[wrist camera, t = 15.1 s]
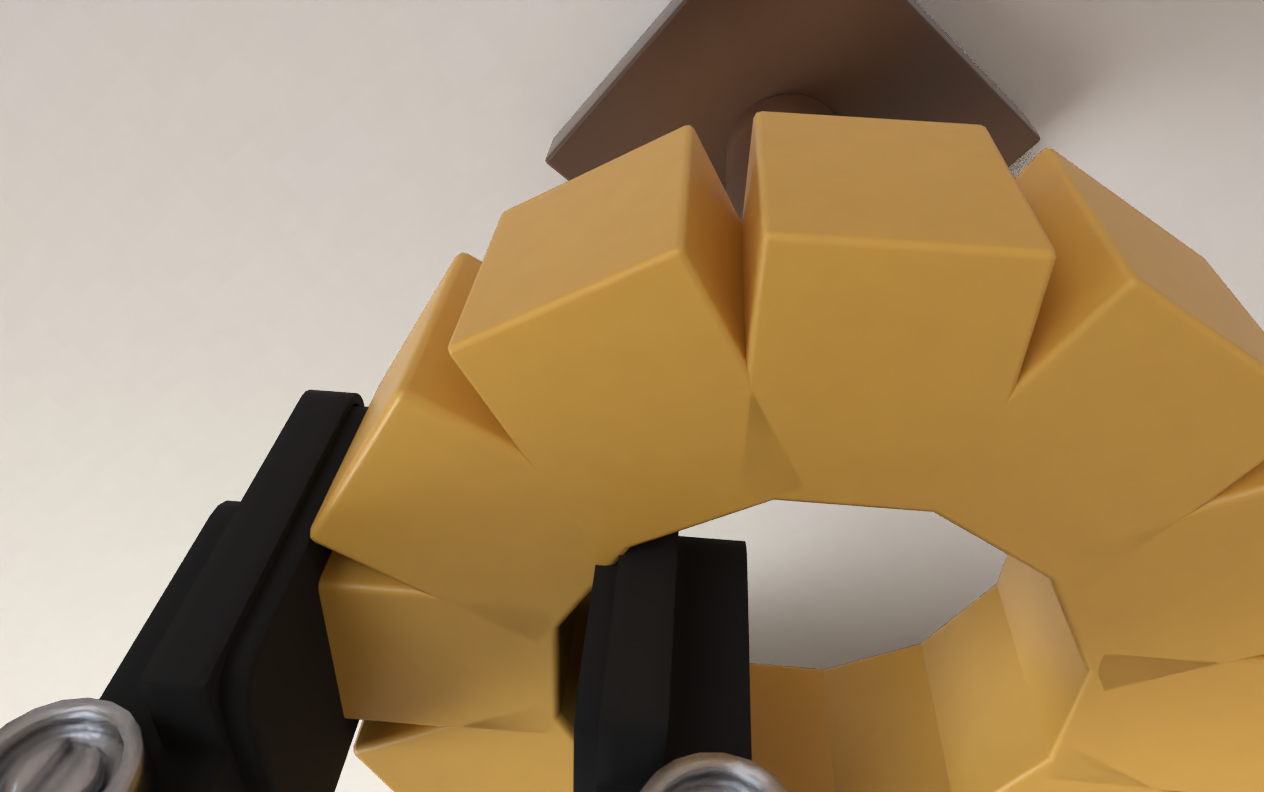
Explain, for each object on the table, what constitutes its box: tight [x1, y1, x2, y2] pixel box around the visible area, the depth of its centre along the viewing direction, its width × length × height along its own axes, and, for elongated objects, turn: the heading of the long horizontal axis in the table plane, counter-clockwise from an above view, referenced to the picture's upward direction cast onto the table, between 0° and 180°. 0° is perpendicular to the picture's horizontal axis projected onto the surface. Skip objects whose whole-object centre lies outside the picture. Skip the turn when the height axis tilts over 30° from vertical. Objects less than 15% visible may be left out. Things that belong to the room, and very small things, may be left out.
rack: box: [546, 0, 1040, 223], centre depth 17 cm, size 7×7×10 cm
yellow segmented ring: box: [310, 111, 1264, 792], centre depth 11 cm, size 10×10×2 cm
